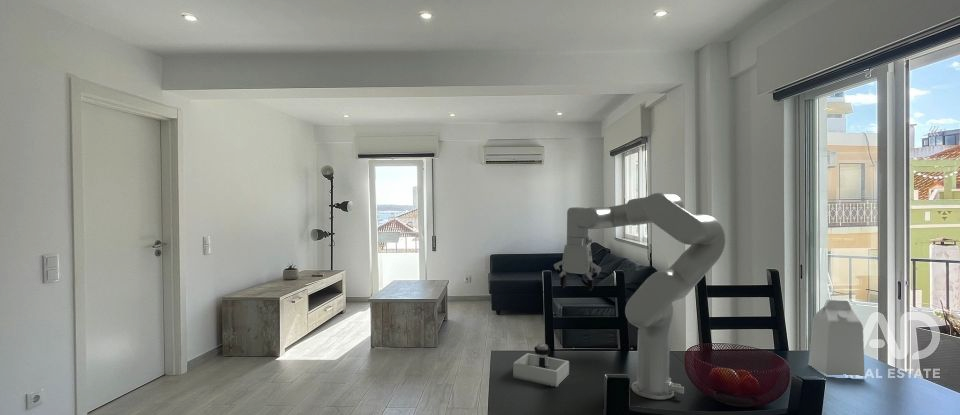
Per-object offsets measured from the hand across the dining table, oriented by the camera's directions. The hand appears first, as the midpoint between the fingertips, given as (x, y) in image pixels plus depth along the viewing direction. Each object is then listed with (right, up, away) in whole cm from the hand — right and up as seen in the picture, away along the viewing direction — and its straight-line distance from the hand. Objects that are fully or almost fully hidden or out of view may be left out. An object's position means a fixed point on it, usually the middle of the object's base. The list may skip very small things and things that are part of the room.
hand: (576, 289), depth 168 cm
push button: (-13, -28, -9) cm, 32 cm away
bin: (-14, -28, -9) cm, 33 cm away
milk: (+92, -30, -2) cm, 97 cm away
